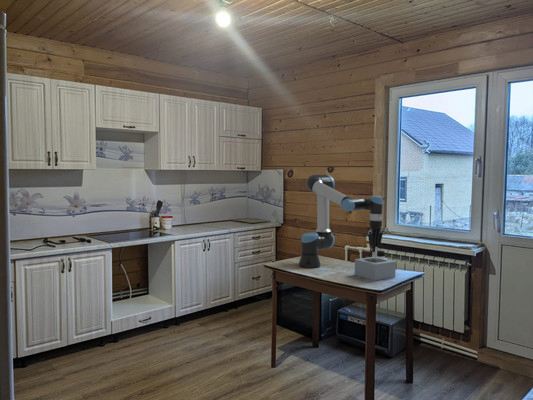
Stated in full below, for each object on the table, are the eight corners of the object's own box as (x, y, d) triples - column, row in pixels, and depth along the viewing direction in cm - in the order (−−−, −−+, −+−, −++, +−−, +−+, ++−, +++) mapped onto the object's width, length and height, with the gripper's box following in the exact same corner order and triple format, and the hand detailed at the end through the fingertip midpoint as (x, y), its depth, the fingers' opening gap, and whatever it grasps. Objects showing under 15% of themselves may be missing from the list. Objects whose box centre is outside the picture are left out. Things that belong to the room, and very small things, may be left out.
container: (387, 270, 287) (388, 251, 286) (377, 271, 284) (378, 251, 284) (381, 267, 294) (381, 249, 293) (371, 268, 292) (371, 249, 291)
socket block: (354, 274, 274) (354, 258, 273) (374, 271, 283) (374, 256, 283) (375, 280, 259) (375, 263, 258) (395, 277, 268) (395, 260, 267)
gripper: (372, 221, 262) (371, 258, 264) (387, 220, 269) (386, 256, 271) (364, 220, 268) (363, 256, 270) (378, 219, 275) (377, 254, 277)
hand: (374, 256), depth 270 cm, fingers closed
